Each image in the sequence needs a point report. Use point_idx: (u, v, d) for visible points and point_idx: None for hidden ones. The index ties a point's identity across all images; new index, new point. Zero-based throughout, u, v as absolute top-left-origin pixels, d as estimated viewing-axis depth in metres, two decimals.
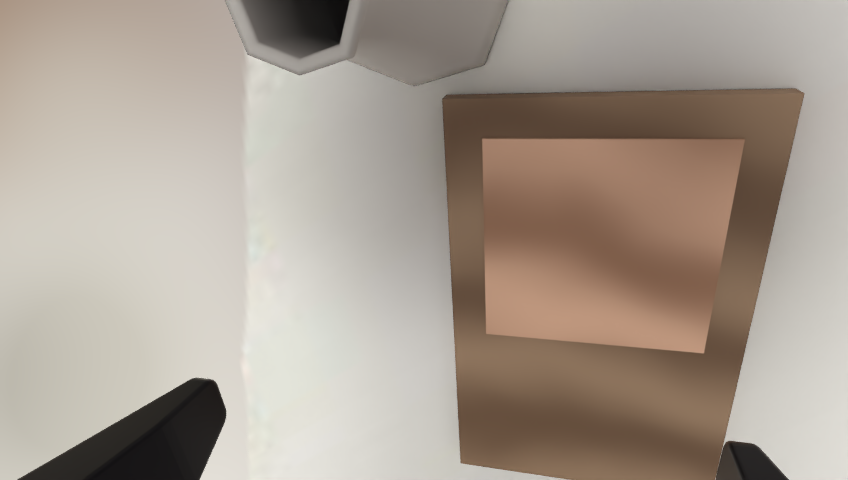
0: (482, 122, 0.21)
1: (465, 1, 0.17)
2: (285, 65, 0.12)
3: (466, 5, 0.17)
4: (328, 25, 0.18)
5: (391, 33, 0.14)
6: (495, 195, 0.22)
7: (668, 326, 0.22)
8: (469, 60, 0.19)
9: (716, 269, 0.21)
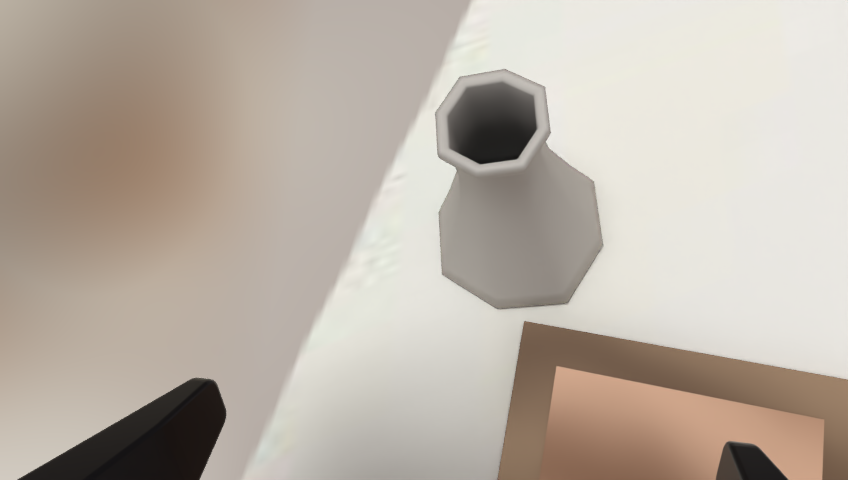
0: (559, 350, 0.21)
1: (573, 229, 0.20)
2: (467, 165, 0.15)
3: (572, 233, 0.21)
4: (451, 223, 0.21)
5: (529, 205, 0.17)
6: (559, 430, 0.21)
7: None
8: (560, 287, 0.21)
9: None
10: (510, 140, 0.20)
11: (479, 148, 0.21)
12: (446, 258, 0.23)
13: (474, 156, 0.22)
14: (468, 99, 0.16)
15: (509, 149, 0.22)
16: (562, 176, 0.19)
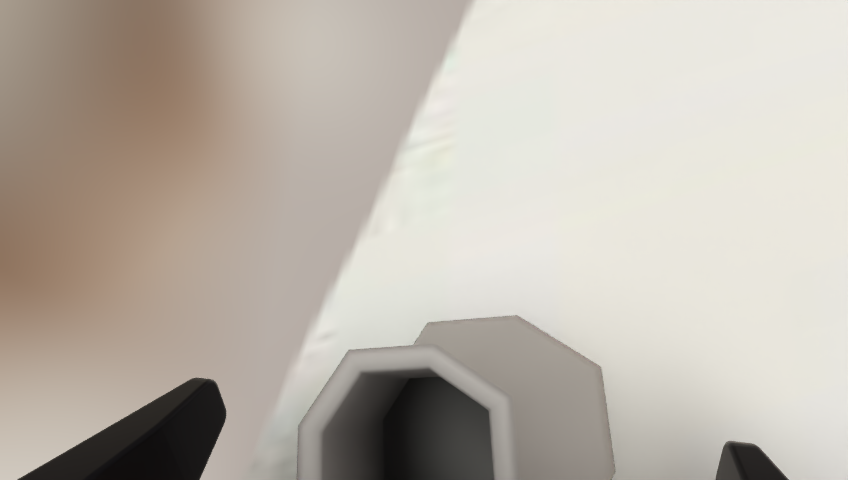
0: None
1: None
2: None
3: None
4: None
5: None
6: None
7: None
8: None
9: None
10: None
11: None
12: None
13: None
14: (370, 379, 0.08)
15: None
16: (552, 426, 0.12)
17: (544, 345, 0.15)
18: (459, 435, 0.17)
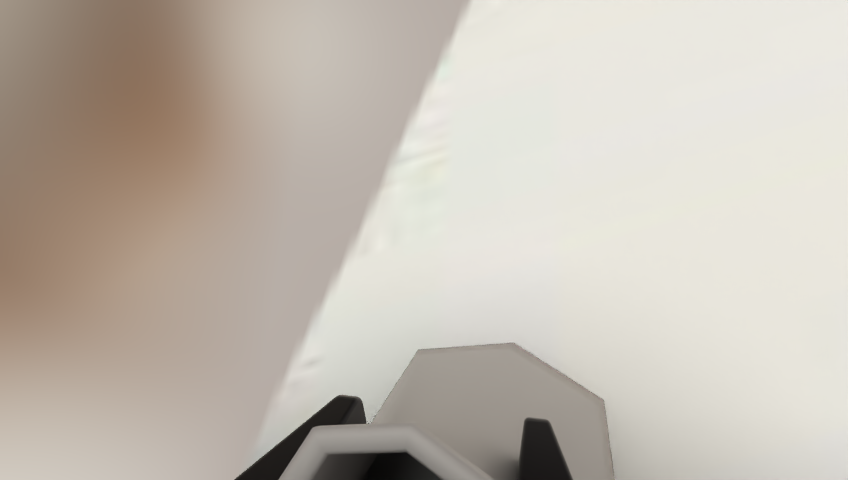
0: None
1: None
2: None
3: None
4: None
5: None
6: None
7: None
8: None
9: None
10: None
11: None
12: None
13: None
14: (340, 456, 0.07)
15: None
16: None
17: (543, 379, 0.14)
18: None
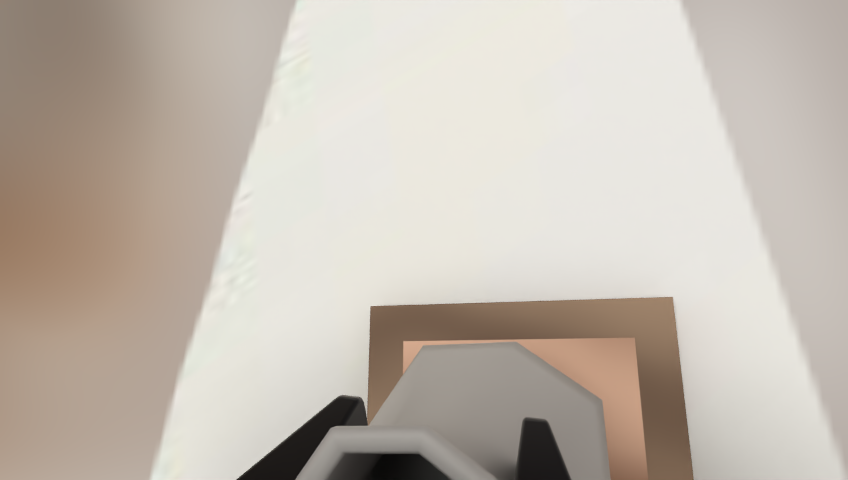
0: (404, 326, 0.23)
1: None
2: None
3: None
4: None
5: None
6: None
7: None
8: None
9: None
10: None
11: None
12: None
13: None
14: (355, 454, 0.08)
15: None
16: None
17: (544, 378, 0.15)
18: None
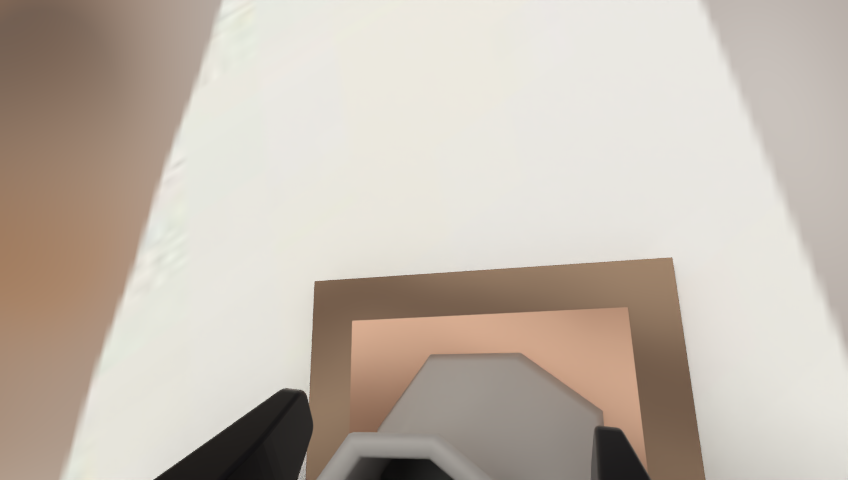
0: (353, 303, 0.19)
1: None
2: None
3: None
4: None
5: None
6: (364, 390, 0.18)
7: None
8: None
9: None
10: None
11: (425, 397, 0.13)
12: None
13: None
14: (370, 458, 0.08)
15: None
16: None
17: (546, 389, 0.15)
18: None
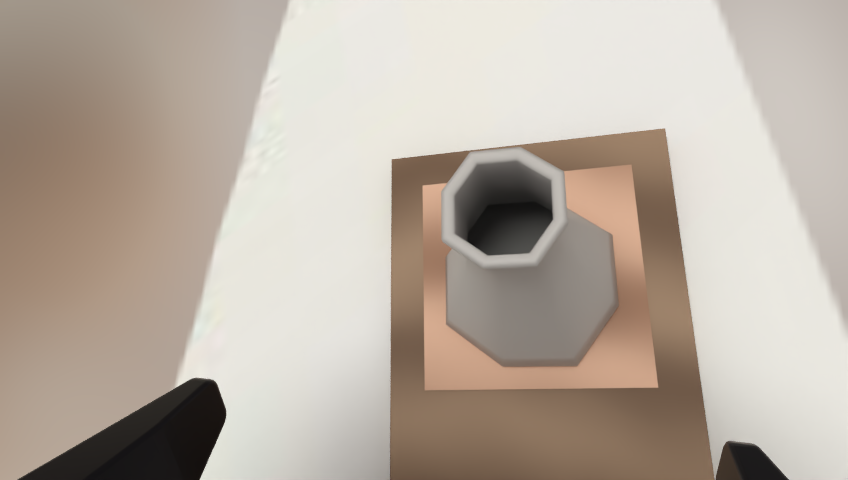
0: (423, 173, 0.25)
1: (587, 295, 0.19)
2: (473, 256, 0.13)
3: (586, 299, 0.19)
4: (457, 280, 0.20)
5: (541, 283, 0.16)
6: (433, 234, 0.24)
7: (613, 356, 0.21)
8: (570, 352, 0.20)
9: (642, 283, 0.22)
10: None
11: (490, 203, 0.19)
12: (450, 313, 0.21)
13: None
14: (478, 174, 0.14)
15: None
16: (578, 244, 0.18)
17: (572, 213, 0.21)
18: None
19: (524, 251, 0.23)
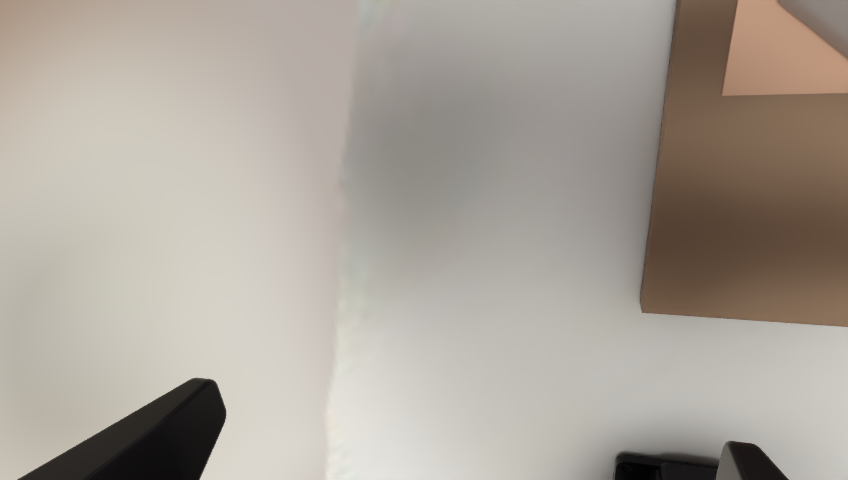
0: None
1: None
2: None
3: None
4: None
5: None
6: None
7: None
8: None
9: None
10: None
11: None
12: None
13: None
14: None
15: None
16: None
17: None
18: None
19: None
